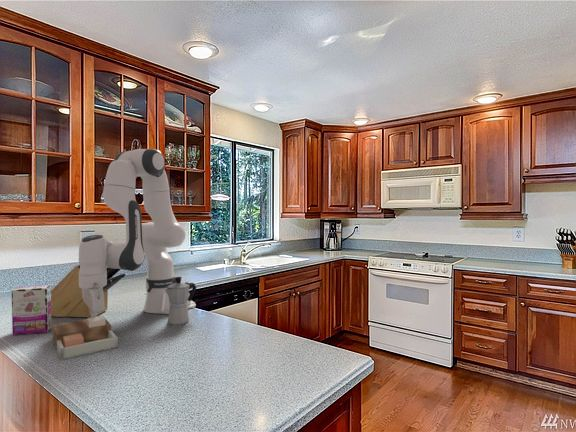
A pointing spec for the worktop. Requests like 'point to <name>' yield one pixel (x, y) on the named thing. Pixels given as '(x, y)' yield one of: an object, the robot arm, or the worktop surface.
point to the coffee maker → (179, 301)
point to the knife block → (77, 294)
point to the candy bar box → (31, 310)
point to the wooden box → (80, 331)
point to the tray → (87, 347)
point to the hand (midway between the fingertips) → (93, 319)
